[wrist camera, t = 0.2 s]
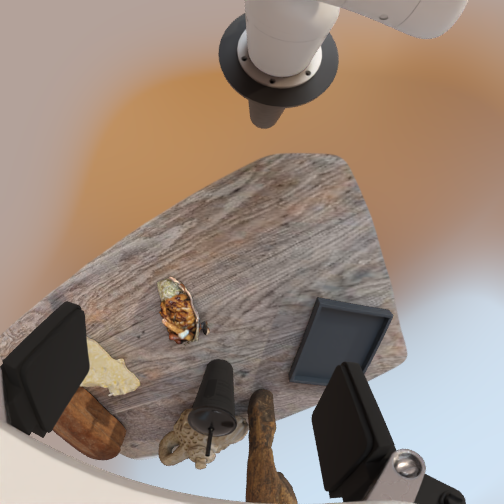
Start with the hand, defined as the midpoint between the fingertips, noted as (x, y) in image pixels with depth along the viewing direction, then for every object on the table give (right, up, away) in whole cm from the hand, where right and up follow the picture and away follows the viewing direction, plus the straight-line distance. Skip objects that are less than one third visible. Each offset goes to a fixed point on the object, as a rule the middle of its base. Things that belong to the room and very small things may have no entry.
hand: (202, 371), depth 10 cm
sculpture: (+5, -23, +45) cm, 51 cm away
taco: (-11, -6, +39) cm, 41 cm away
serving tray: (+17, -13, +41) cm, 46 cm away
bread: (-41, -33, +48) cm, 71 cm away
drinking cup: (-4, -18, +43) cm, 46 cm away
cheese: (-26, -16, +42) cm, 52 cm away
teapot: (-8, -31, +47) cm, 57 cm away
